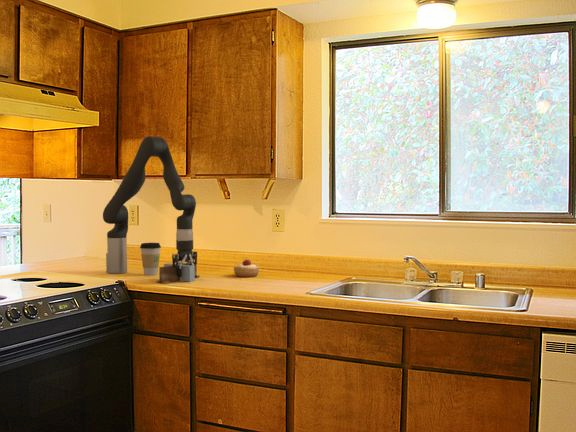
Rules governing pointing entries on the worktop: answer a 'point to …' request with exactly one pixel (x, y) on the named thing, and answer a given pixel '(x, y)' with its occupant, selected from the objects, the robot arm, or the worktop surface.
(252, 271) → the pastry
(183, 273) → the cross bar
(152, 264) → the coffee cup
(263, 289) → the worktop surface
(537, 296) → the worktop surface
